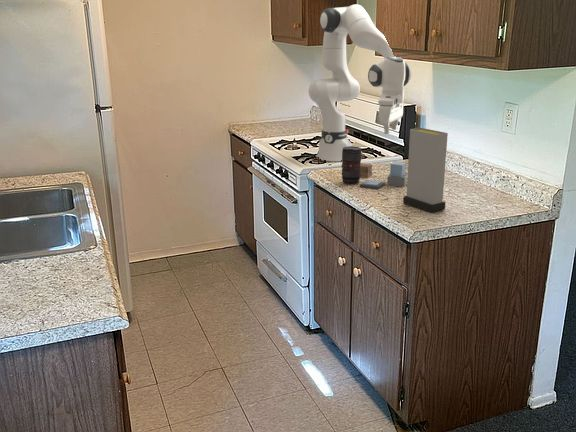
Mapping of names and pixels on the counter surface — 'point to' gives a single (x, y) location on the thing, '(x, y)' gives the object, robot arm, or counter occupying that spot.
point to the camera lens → (351, 164)
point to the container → (426, 169)
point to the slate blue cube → (398, 169)
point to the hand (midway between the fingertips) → (390, 131)
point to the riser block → (397, 180)
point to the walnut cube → (366, 170)
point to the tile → (372, 184)
